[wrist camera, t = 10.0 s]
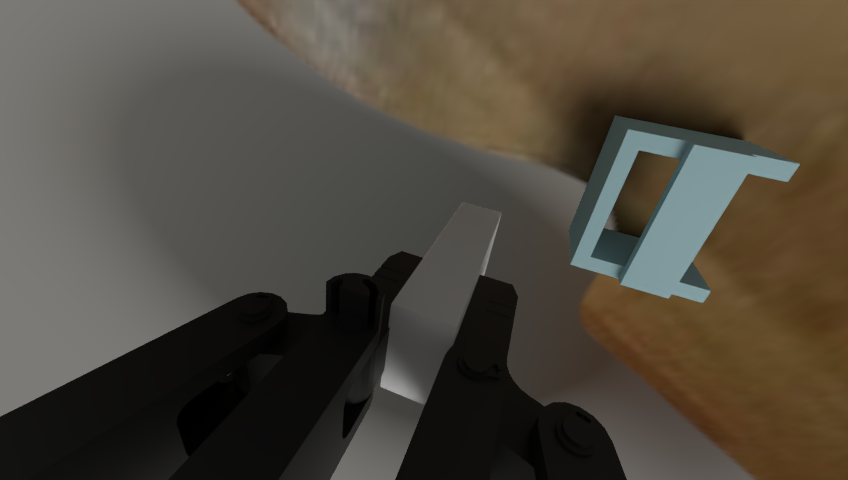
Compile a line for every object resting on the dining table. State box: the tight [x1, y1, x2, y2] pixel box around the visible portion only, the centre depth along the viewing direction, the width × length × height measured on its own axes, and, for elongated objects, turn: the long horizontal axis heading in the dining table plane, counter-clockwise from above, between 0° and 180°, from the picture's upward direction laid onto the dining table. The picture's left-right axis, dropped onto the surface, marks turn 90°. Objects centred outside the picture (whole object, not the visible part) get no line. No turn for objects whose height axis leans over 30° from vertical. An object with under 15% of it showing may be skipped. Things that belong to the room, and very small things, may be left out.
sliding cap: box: [569, 115, 800, 303], centre depth 19 cm, size 7×8×5 cm
